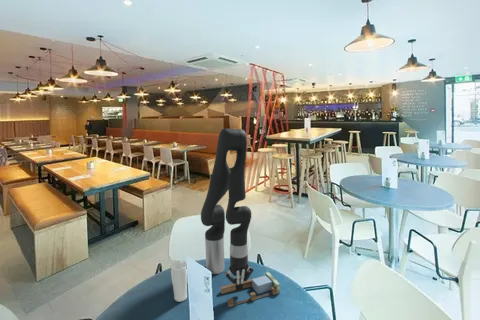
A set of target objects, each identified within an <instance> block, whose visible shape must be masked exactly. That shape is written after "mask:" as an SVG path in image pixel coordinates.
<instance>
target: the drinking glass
mask: <svg viewBox="0 0 480 320" xmlns="http://www.w3.org/2000/svg"><path fill="white" fill-rule="evenodd" d="M186 263H187V262H186V261H183V260H182V261H181V260H180V261H175V262H173V263H172V264H170V266H171V267H170V276H171V282H172V289H173V299H174V301H175V302H179V303H180V302H183V301H185V300H186V299H188V298H187V297H188V280H187V269H186Z"/></svg>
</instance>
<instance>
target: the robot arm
mask: <svg viewBox="0 0 480 320" xmlns="http://www.w3.org/2000/svg"><path fill="white" fill-rule="evenodd" d="M247 145H248V137H247V134H246V131H245V130H244V129H242V128H222V129H221V130H220V132H219V134H218V138H217V145H216V153H215V158H214V159H215V160H214V162H213V163H214V165H213V166H212V167H213V168H212V172H211V174H210V175H211V176H210V180H209V184H208V189H207V193H206V197H205V200H204V202H203V206H202V208H201V212H200V220H201V223H202V225H203V226H206V227H209V228H208V229H207V230H206V231H205V233H204V241H205V243H204V244H205V264H206V265H205V268H207V269H209V270H210V271H211V272H212V274H211V275H218V274H222V272H224V275H225V278H227V279H228V281H230V282H231V284H236V291H237V292H238V293H240V292H242V291H243V289H244V288H243V282H244V281H247V280H249V279H250V277H251V275H252V274H253V272H254V269H253V268H252V266H251V265H249V257H248V256H249V255H248V254H249V247H248V232H249V227H250V224H251V220H252V211H251V209H250V207H249V206H248V205H241V206H236V204H237V203H238V202H241V201H244V200H245V199H246V198H247V197H246V196H247V195H246V181H245V180H246V179H245V178H246V177H245V173H246V161H247V147H248V146H247ZM229 151H230V152H233V151H235V152H236V153H235V154H236V156H235V157H236V158H235V162H234V165H233V167H232V169H230V166H229V163H228V162H227V155H228V152H229ZM227 192H228V201H227V206H226V211H225V209H224V207H223V206H222V205H221V204H219V203H220V200H221V199H222V198H223V197H224V196H225V195H226V194H227ZM226 223H227V224H229V225H230V226H231V225H233V226H235V225H238V226H237V227H236V226H235V227H234V228H231V230H230V235H229V237H230V238H229V240H230V242H229V243H230V244H229V267H228V270H227V271H225V270H226V269H225V239H224V238H225V237H224V235H225V228H226ZM232 275H233V276H234V278H233V277H232Z"/></svg>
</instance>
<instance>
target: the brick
mask: <svg viewBox="0 0 480 320" xmlns="http://www.w3.org/2000/svg"><path fill="white" fill-rule="evenodd" d="M257 277H258V278H257ZM257 277H254V278H255V279H253V278H251V279H252V286H251V287H252V288H253V290H254V291H255V293H256V294H258V295H261V294H264V293H266V292H270V291H271V287H272V281H271V280H270V279H269V278H268V277H267V276H266V274H265V275H262V277H261V276H257Z"/></svg>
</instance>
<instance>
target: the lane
mask: <svg viewBox="0 0 480 320" xmlns="http://www.w3.org/2000/svg"><path fill="white" fill-rule="evenodd" d="M265 275H266V276H267V277H268V278H269V279H270V280H271V281H272V287H271V290H270V291H269V292H268V293H266V292H265V293H262V294H258V295H257V293H256V291H255V292H254V291H252V292H250V293H249V298H244V299H242V300H237V301H235V300H234V298H233V297H231V298H228V299H227V307H228V308H231V307H236V306H239V305H242V304H246V303H249V302H252V301H256V300H260V299H263V298H267V297H270V296H274V295H279V294H281V283H280V282H279V281H278V280H277V279H276V278H275V277H274V276H273V275H272V274H271V273H270V272H269V271H266V272H265ZM262 276H263V275H262ZM262 276H260V277H262ZM258 277H259V276H257V277H254V278H248V280H247V281H244V282H243V289H247V288H251V287H252V279H255V278H258ZM235 291H237V290H236V284H233V283H229V284H226V285H222V286H220V293H221V294H222V295H223V294H227V293H231V292H232V293H233V292H235Z"/></svg>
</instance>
